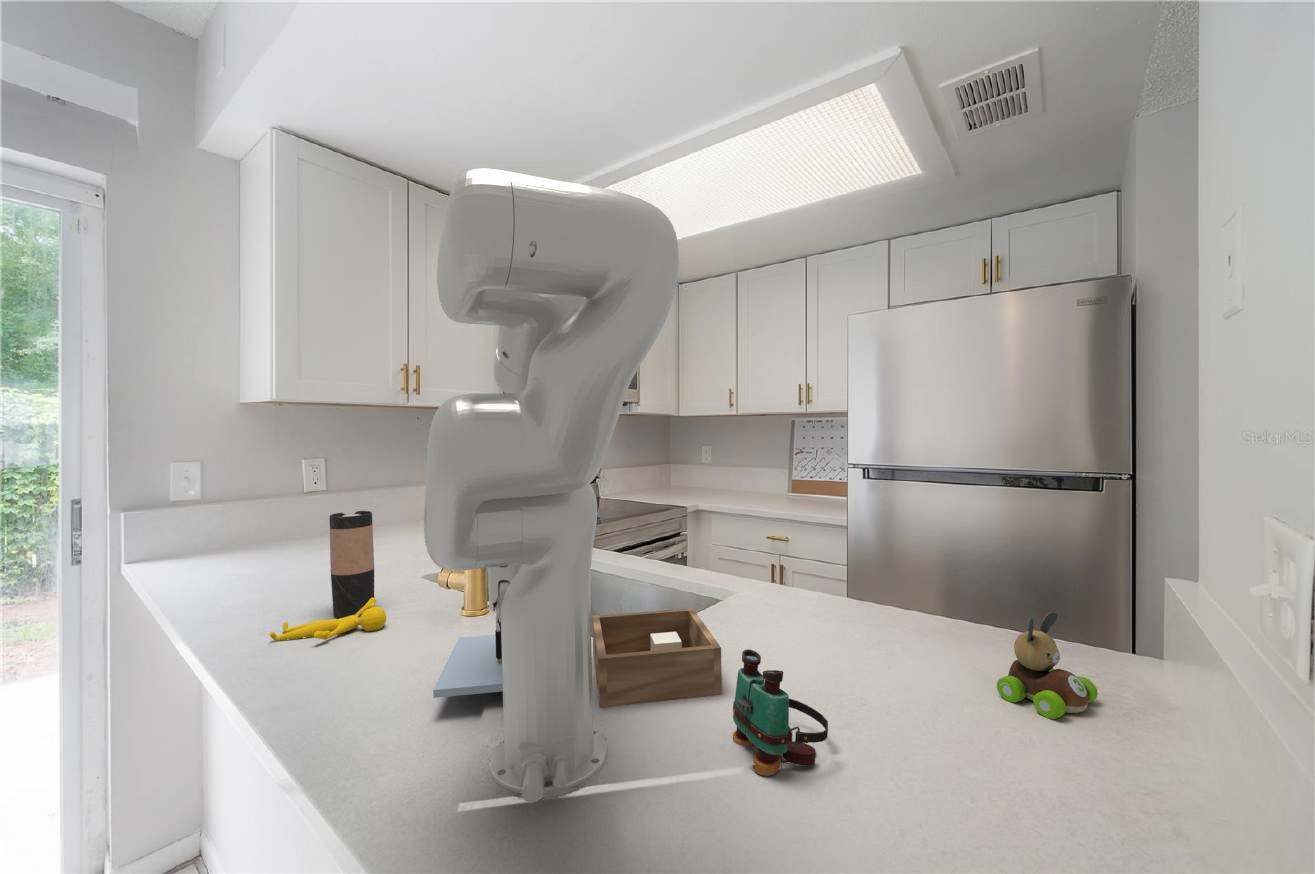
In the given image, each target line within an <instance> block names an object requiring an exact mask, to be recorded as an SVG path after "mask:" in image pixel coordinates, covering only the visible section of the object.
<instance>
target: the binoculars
mask: <svg viewBox="0 0 1315 874" xmlns="http://www.w3.org/2000/svg"><path fill="white" fill-rule="evenodd" d="M761 661H762V656H761V655H760V653H758V652H757V651H755V650H753V649H748V648H747V649H745V650H743V651H742V652H741V662H742V663H743V667H741V668H739V669H738V671H737V677H736V687H735V692H734V693H735V694H734V701H733V704H732V712H733V713H732V714H733V715H732V719H733V722H734V724H735V725H736V730H735V731H734V732H733V733H732V741H733V742H734V744H736V745H738V746H741V747H750V746H753V745H754V746H755V747H757V752H755V753H754V755H753V759H752V760H753V764H752V767H753V770H754V772H755V773H757V774H758V775H761V776H772V775H775V774H776V773H777V772H778V771H779V770H780V768H781V763H783V764H784V763H785V764H786V763H789V764H792V765H796V766H802V767H811V766H814V765H815V764H816V753H817V751H816V749H815V748H814V747H813V746H812V745H810V744H808V743H812V744H814V743H822V742H825V740H827V739H828V736H829V735H828V732H829V721H828V720H827V718H826V717H825V716H824V715H823V714H822V713H820V712H819V711H817V710H816V709H815V708H813V707H811V706H809V705H807V704H805V703H803V702H801V701H799V700H796V699H792V698H789V694H788V693H787V692H786V691H784V690H783V689H782V688H780V686H781V683H782V682H783V681H784V679H783V678H784V671H783V670H776V669H773V670H771V669H770V670H764V671H762V673H761V672H760V671H759V670H758V668H759V665H761ZM790 709H794V710H796V711H798V712H800V713H803V714H805V715H807V716H809V717H811V718H812V719H814V720H815V721H816V722H818V723H819V724H820V725H821V726H822V727H823V728H824V730H822V731H818V732H808V731H807V732H804V731H801V730H800V726H794V727H792V728H791V727H790V726H789V725H790V724H789V719H790ZM794 730H796V731H795V738H794V739H795V740H793V731H794ZM783 759H784V760H783Z"/></svg>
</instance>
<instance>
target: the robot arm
mask: <svg viewBox="0 0 1315 874" xmlns="http://www.w3.org/2000/svg"><path fill="white" fill-rule="evenodd" d="M446 204H447V205H446V210H445V214H444V215H445V216H444V221H443V227H442V230H441V231H442V232H441V236H440V242H439V247H438V255H437V265H436V266H437V267H436V268H437V269H436V270H437V271H436V284H437V285H436V286H437V287H436V288H437V294H438V299H439V303H440V306H441V309H442V311H443V312H444V314H445V315H446V317H448V319H450V320H452V321H453V322H456V323H459V324H467V325H469V324H470V325H481V326H483V325H484V326H485V325H486V326H499V329H498V331H499V332H498V337H497V346H496V353H495V360H494V365H493V378H494V380H495V383H496V385H497V386H498V388H499V389H500V390H501V391H502V392H503V393H490V392H489V393H488V392H487V393H482V392H481V393H480V392H479V393H464V394H459V395H455V396H453V397H452V396H451V397H450V398H449V399H447V400H445V401H444V402H443V403H441V405H440V406H439V407H438V408H437V410H436V411H435V412H434V416H433V419H431V425H430V428H429V433H428V442H427V443H428V444H427V454H426V473H425V475H426V476H425V493H424V496H425V497H424V511H423V535H424V542H425V546H426V550H427V553H428V556H429V557H430V559H431V560H432V562H434V564H435V565H437V566H438V567H439V568H441V569H443V570H446V571H454V572H458V571H459V572H461V571H472V570H480V569H487V587H488V589H487V590H488V603H489V604H488V606H489V609H490V610H491V611H492V612H495V632H494V633H495V634H494V635H495V636H496V658H497V659H502V679H503V691H502V705H503V707H502V711H503V715H502V716H503V739H502V740H501V741H500V742H498V744H497V746H495V748H494V749H493V750H492V753H491V755H490V757H489V762H488V763H489V764H488V766H489V767H488V769H489V773H490V775H491V777H492V779H493V780H494V781H495V782H496V783H497V784H498V785H499V786H501V787H503V788H504V789H507V790H508V791H512V792H515V793H521V794H517V795H514V797H516V798H519V799H520V798H521V799H523V800H524V801H525V802H527V803H529V804H534V803H537V802H538V801H540V800H541V799H550V798H551V799H552V798H557V797H561V796H563V795H567V794H571V793H573V792H574V791H578V790H580V789H581V788H583V786H579V787H576V786H578V785H580V784H582V783H584V782H586V781H588V780H589V779H590V778H592V777H593V776H595V775H596V774H597V773H598V772H599V771H600V769H602V767H603V766H604V764H605V763H606V761H607V758H608V755H609V745H608V744H609V743H608V742H607V739H606V737H605V736H604V735H603V733H602V732H601V731H599V730H598V729H597V728H595V727H594V704H593V702H594V701H593V700H594V699H593V696H594V695H593V663H592V662H593V661H592V660H593V659H592V657H593V656H592V654H593V650H592V619H591V618H592V613H591V611H592V609H591V608H592V607H591V605H592V604H591V603H592V602H591V577H592V576H591V575H592V574H591V573H592V559H593V549H594V541H595V536H596V531H597V530H596V528H597V523H598V501H597V496H596V493H595V490H594V488H593V487H592V485H591V483H592V482H593V481H594V480H595V479H596V477H597V475H598V474H599V472H600V470H601V467H602V465H603V463H604V460H605V458H606V455H607V451H608V448H609V446H610V444H611V440H612V437H613V434H614V432H615V429H616V426H617V423H618V420H619V417H620V413H621V410H622V408H623V404H624V401H625V397H626V395H627V392H628V389H629V387H630V386H631V385H630V384H631V382H632V380H633V379H634V377H635V375H636V373H637V371H638V370H639V368H640V367H641V364H643V362H644V360H645V358H646V357H647V355H648V353H649V352H650V351H651V349H652V347H653V345H654V344H655V342H656V341H657V339H658V337H659V334H660V333H661V331H662V329H663V327H664V325H665V323H666V321H667V318H668V316H669V313H670V310H671V307H672V304H673V301H674V296H675V293H676V288H677V283H678V277H679V266H680V265H679V263H680V262H679V261H680V255H679V254H680V253H679V251H680V250H679V243H678V242H679V241H678V237H677V233H676V230H675V228H674V225H673V224H672V221H671V220H670V219H669V217H668V216H667V214H665V213H664V212H663V211H662V210H661V209H660V208H658V207H657V206H656V205H654V204H653V203H651V202H649V201H647V200H644V199H642V198H639V197H637V196H633V195H630V194H628V193H624V192H620V191H617V190H613V189H608V188H603V187H599V186H598V187H597V186H593V185H588V184H582V183H577V182H576V183H575V182H571V181H570V182H569V181H564V180H557V179H552V178H551V179H550V178H546V177H541V176H536V175H530V174H524V173H519V172H514V171H509V170H508V171H507V170H501V169H495V168H494V169H493V168H475V169H469V170H466V171H464V172H463V173H462V174H461V175H459V177H458V178H457V179H456V180H455V182H454V183H453V185H452V187H451V191H450V193H449V195H448V199H447V203H446Z"/></svg>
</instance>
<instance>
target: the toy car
mask: <svg viewBox="0 0 1315 874" xmlns="http://www.w3.org/2000/svg"><path fill="white" fill-rule="evenodd" d="M1057 620H1058V614H1057V613H1056V612H1055V611H1051V612H1048V613H1046V615H1045V616H1044V618H1043V620H1042V621H1041V623H1040V625H1039V630H1036V629H1035V628H1034V619H1033V617H1029V619H1028V621H1027V631H1024V632H1021V633H1020V634H1019V635H1018V636H1017V637H1016V639H1015V641H1014V644H1013V645H1014V646H1013V651H1014V654H1015V657H1016V660H1014V661H1013V662H1012V663H1011V666H1010V668H1009V671H1008V675H1006V676H1003V677H1001V678H999V679H998V680H997V681H996V689H997V692H998V694H999V695H1000V696H1001V698H1003V699H1004V700H1005V701H1007V702H1009V703H1012V704H1013V703H1017V702H1020V701H1022V700H1024V699H1028V700H1030V701H1032V702H1033V706H1034V708H1035V710H1036V711H1037V712H1038V713H1039V714H1040V715H1041V716H1042V717H1044V718H1046V719H1049V720H1056V719H1058V718H1061V717H1062V716H1064V714H1065V713H1069V714H1079V713H1082V712H1084V711H1086V709H1087V708H1088V707H1089V706H1088V705H1089V703H1092V702H1094V701H1095V700H1096V699H1097V698H1098V696H1099V695H1098V694H1099V693H1098V688H1097V686H1096V685H1095V684H1094V682H1092V681H1091V679H1089V678H1087V677H1084V676H1077V675H1075V674H1074V673H1072V672H1070V671H1068V670H1064V669H1063V668H1054V667H1055V666H1056V665H1058V664H1059V663H1060V660H1061V654H1060V651H1059V649H1058V647H1057V644H1056V642H1055V639H1053V637H1052V636H1051V635H1049V634H1048V632H1050V629H1051V627H1052V626H1054V624H1055V623H1056V621H1057Z"/></svg>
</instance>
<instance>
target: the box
mask: <svg viewBox="0 0 1315 874" xmlns="http://www.w3.org/2000/svg"><path fill="white" fill-rule="evenodd" d="M591 618H592V619H591V623H592V654H593V656H592V657H593V664H594V672H595V679H596V686H597V696H598V702H599V708H608V707H609V708H610V707H619V706H629V705H638V704H647V703H649V704H650V703H657V702H667V701H676V700H684V699H685V700H686V699H695V698H704V697H713V696H722V695H723V679H722V678H723V676H722V673H723V672H722V669H723V668H722V647H721V646H720V644H719V643H718V641H717V639H715V637H714V636H713V634H712V633H711V631H710V630H709V629H708V628H707V625H706V624H705V623H704V622H703V620H702V619H701V617H700V616H699V615H698V613H697V611H696V610H695V609H694V608H692V607H691V608H690V607H689V608H679V609H677V608H676V609H665V610H663V609H662V610H652V611H651V610H650V611H639V612H626V613H615V614H612V613H611V614H603V615H602V614H601V615H600V614H599V615H591ZM666 632H677V634H678V636H679V638H680V640H681V641H682V648H676V649H665V650H654V651H651V644H650V634H654V633H666Z"/></svg>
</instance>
